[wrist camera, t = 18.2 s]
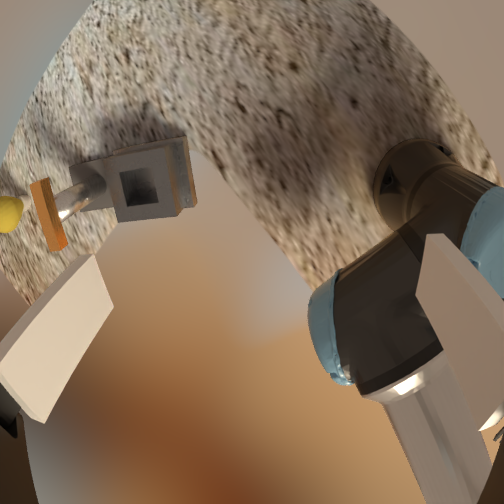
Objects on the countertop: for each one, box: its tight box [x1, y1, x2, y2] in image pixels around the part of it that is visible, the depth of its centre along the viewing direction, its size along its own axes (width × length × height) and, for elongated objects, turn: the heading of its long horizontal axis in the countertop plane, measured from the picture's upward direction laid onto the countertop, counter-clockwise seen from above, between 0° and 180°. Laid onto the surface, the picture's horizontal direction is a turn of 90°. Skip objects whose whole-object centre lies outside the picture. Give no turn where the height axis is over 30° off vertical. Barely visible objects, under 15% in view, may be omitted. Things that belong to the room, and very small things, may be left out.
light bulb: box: [0, 195, 31, 233], centre depth 41 cm, size 7×7×10 cm
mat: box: [69, 156, 114, 212], centre depth 43 cm, size 10×8×1 cm
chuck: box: [103, 136, 197, 223], centre depth 39 cm, size 11×10×6 cm
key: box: [30, 174, 107, 252], centre depth 36 cm, size 9×4×14 cm, turn 8°
